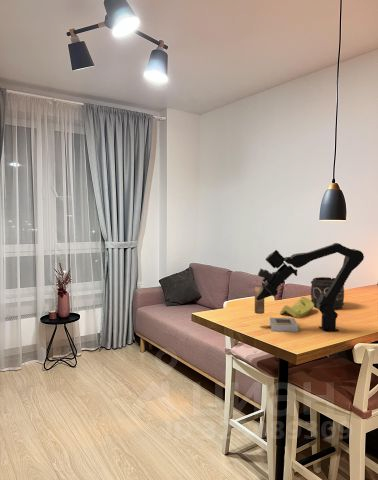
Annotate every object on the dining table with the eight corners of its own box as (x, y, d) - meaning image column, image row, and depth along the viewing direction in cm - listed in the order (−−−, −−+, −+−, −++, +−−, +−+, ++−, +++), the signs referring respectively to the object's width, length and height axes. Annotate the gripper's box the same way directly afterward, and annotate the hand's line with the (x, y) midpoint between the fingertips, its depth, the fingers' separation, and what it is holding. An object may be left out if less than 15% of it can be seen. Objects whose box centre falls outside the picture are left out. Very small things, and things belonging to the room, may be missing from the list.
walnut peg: (265, 313, 167) (265, 287, 167) (256, 314, 166) (256, 288, 166) (261, 311, 172) (262, 286, 171) (253, 311, 171) (253, 286, 170)
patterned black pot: (323, 311, 196) (324, 283, 195) (304, 304, 213) (304, 277, 213) (351, 309, 201) (352, 281, 200) (330, 302, 218) (331, 276, 217)
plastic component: (300, 314, 182) (283, 303, 188) (294, 326, 185) (278, 314, 191) (317, 304, 196) (301, 294, 202) (311, 315, 199) (296, 305, 205)
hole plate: (294, 324, 173) (294, 317, 173) (298, 332, 162) (298, 324, 161) (269, 323, 175) (269, 317, 174) (271, 330, 163) (271, 323, 163)
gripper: (267, 260, 176) (243, 282, 179) (270, 265, 158) (244, 290, 160) (283, 276, 176) (260, 298, 178) (288, 283, 157) (262, 308, 159)
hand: (256, 298), depth 169 cm, fingers closed on walnut peg, 4 cm apart
